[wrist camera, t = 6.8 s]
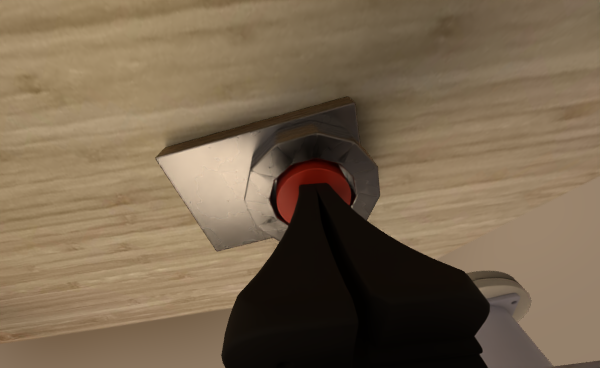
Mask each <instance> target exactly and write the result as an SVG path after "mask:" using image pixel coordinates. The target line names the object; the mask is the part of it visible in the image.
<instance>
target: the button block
mask: <svg viewBox="0 0 600 368" xmlns="http://www.w3.org/2000/svg"><path fill="white" fill-rule="evenodd" d="M155 159H156V160H157V162H158V163H159V165H160V166H161V168H162V169H163V171H164V173H165V174H166V176H167V177H168V179H169V180H170V182H171V183H172V185H173V186H174V188H175V189H176V191H177V192H178V194H179V195H180V197H181V198H182V200H183V201H184V203H185V204H186V206H187V207H188V209H189V210H190V212H191V214H192V215H193V217H194V218H195V220H196V221H197V223H198V224H199V226H200V227H201V229H202V230H203V232H204V233H205V235H206V236H207V238H208V239H209V241H210V242H211V244H212V245H213V247H214V248H215V250H216V251H221V250H225V249H229V248H233V247H237V246H241V245H245V244H249V243H253V242H257V241H261V240H266V239H270V238H275V239H276V240H278V241H281V239H282V237H283V235H284V233H285V231H286V229H287V227H288V225H289V223H288V222H287V221H286V220H285V219H284V218H283V217H282V216H281V214H280V213H279V211H278V208H277V178H278V177H279V176H280V175H281V174H282V173H283V172H284V171H285V170H287V169H288V168H289V167H290V166H291V165H294V164H298V163H302V162H305V161H309V160H313V159H320V160H325V161H329V162H334V163H338V165H339V166H340V168H341V170H342V172H343V174H344V176H345V178H346V180H347V182H348V185H349V187H350V190H351V201H350V205H349V206H350V207H351V208H352V209H353V210H355V211H356V212H357V213H358V214H359V215H360V216H362V217H363V218H364V219H365V220H367V219H368V217H369V215H370V213H371V212H372V210H373V208H374V206H375V204H376V202H377V201H378V199H379V197H380V187H379V175H378V166H377V165H376V163H375V162H374V160H373V159H372V158H371V157H370V155H369V154H368V153H367V151H366V150H365V149H364V148H363V147H362V146H361V145H360V137H359V129H358V121H357V113H356V105H355V102H354V101H353V100H352V99H351V98H349V97H344V98H340V99H337V100H333V101H329V102H326V103H322V104H319V105H315V106H312V107H308V108H304V109H301V110H297V111H294V112H290V113H287V114H283V115H279V116H276V117H272V118H269V119H265V120H262V121H258V122H255V123H251V124H247V125H244V126H240V127H237V128H233V129H230V130H226V131H222V132H219V133H215V134H212V135H208V136H205V137H201V138H197V139H194V140H190V141H187V142H183V143H180V144H176V145H172V146H169V147H165V148H164V149H163V150H162V151H161V152H160V154H159V155H158V156H157V157H156V158H155Z"/></svg>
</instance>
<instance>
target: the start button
mask: <svg viewBox="0 0 600 368" xmlns="http://www.w3.org/2000/svg"><path fill="white" fill-rule="evenodd" d="M315 183H328V184H329V185H330V186H331V187H332V188H333V190H334V191H335V192H336V193H337V194H338V195H339V196H340V197H341V198H342V199H343V200H344V201H345V202H346V203H347V204H348V205H350V201H351V190H350V187H349V185H348V182H347V180H346V178H345V176H344V174H343V172H342V170H341V168H340V166H339V165H338V163H334V162H329V161H325V160H320V159H313V160H309V161H305V162H302V163H298V164H294V165H291V166H290V167H289V168H288V169H287V170H285V171H284V172H283V173H282V174H281V175H280V176H279V177H278V178H277V208H278V211H279V213H280V214H281V216H282V217H283V218H284V219H285V220H286V221H287V222H288V223H290V220H291V218H292V215H293V213H294V210H295V207H296V203H297V200H298V195H299V186H300V185H302V184H315Z"/></svg>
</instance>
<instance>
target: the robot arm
mask: <svg viewBox="0 0 600 368" xmlns="http://www.w3.org/2000/svg"><path fill="white" fill-rule="evenodd" d="M519 300H520V296H519V295H518V294H517V293H510V294H506V295H501V296H497V297H492V298H488V299H486V298H485V296H484V295H483V294H482V293H481V291H480V290H479V289H478V287H477V286H476V285H475V283H474V282H473V281H472V280H471V279H470V278H469V276H468V275H467V274H466V273H465V272H464V271H462V270H460V269H457V268H455V267H452V266H450V265H447V264H445V263H442V262H440V261H437V260H435V259H433V258H430V257H428V256H426V255H424V254H422V253H420V252H418V251H416V250H414V249H412V248H410V247H408V246H406V245H404V244H402V243H401V242H399V241H397V240H395V239H394V238H392V237H390V236H389V235H387V234H385V233H384V232H382V231H381V230H379V229H378V228H376V227H375V226H374V225H372V224H371V223H369V222H368V221H367V220H365V219H364V218H363V217H362V216H360V215H359V214H358V213H357V212H356V211H355V210H353V209H352V208H351V207H350V206H349V205H348V204H347V203H346V202H345V201H344V200H343V199H342V198H341V197H340V196H339V195H338V194H337V193H336V192H335V191H334V190H333V188H332V187H331V186H330V185H329V184H328V183H315V184H302V185H300V186H299V195H298V200H297V203H296V207H295V210H294V213H293V215H292V218H291V220H290V223H289V225H288V227H287V229H286V231H285V233H284V235H283V237H282V239H281V241H280V242H279V244H278V246H277V247H276V249H275V250H274V252H273V253H272V255H271V256H270V258H269V259H268V260H267V262H266V263H265V264H264V266H263V267H262V268H261V270H260V271H259V272H258V273H257V275H256V276H255V277H254V278H253V279H252V280H251V281H250V282H249V284H248V285H247V286H246V287H245V288H244V289H243V290H242V291H241V292H240V293H239V295H238V296H237V299H236V301H235V304H234V306H233V309H232V311H231V314H230V317H229V321H228V324H227V328H226V332H225V337H224V343H223V350H222V361H223V364H224V366H225V368H600V361H593V362H586V363H578V364H570V365H561V366H555V367H554V366H553V365H552V364H551V363H550V361H549V360H548V359H547V358H546V357H545V355H544V354H543V353H542V352H541V351H540V349H538V347H537V346H536V345H535V343H534V342H533V341H532V340H531V339H530V337H529V336H528V335H527V334H526V333H525V331H524V330H523V329H522V328H521V327H520V325H519V324H518V323H517V322H516V321H515V319H514V318H513V317H512V316H513V313H514V311H515V309H516V307H517V305H518V302H519Z"/></svg>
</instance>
